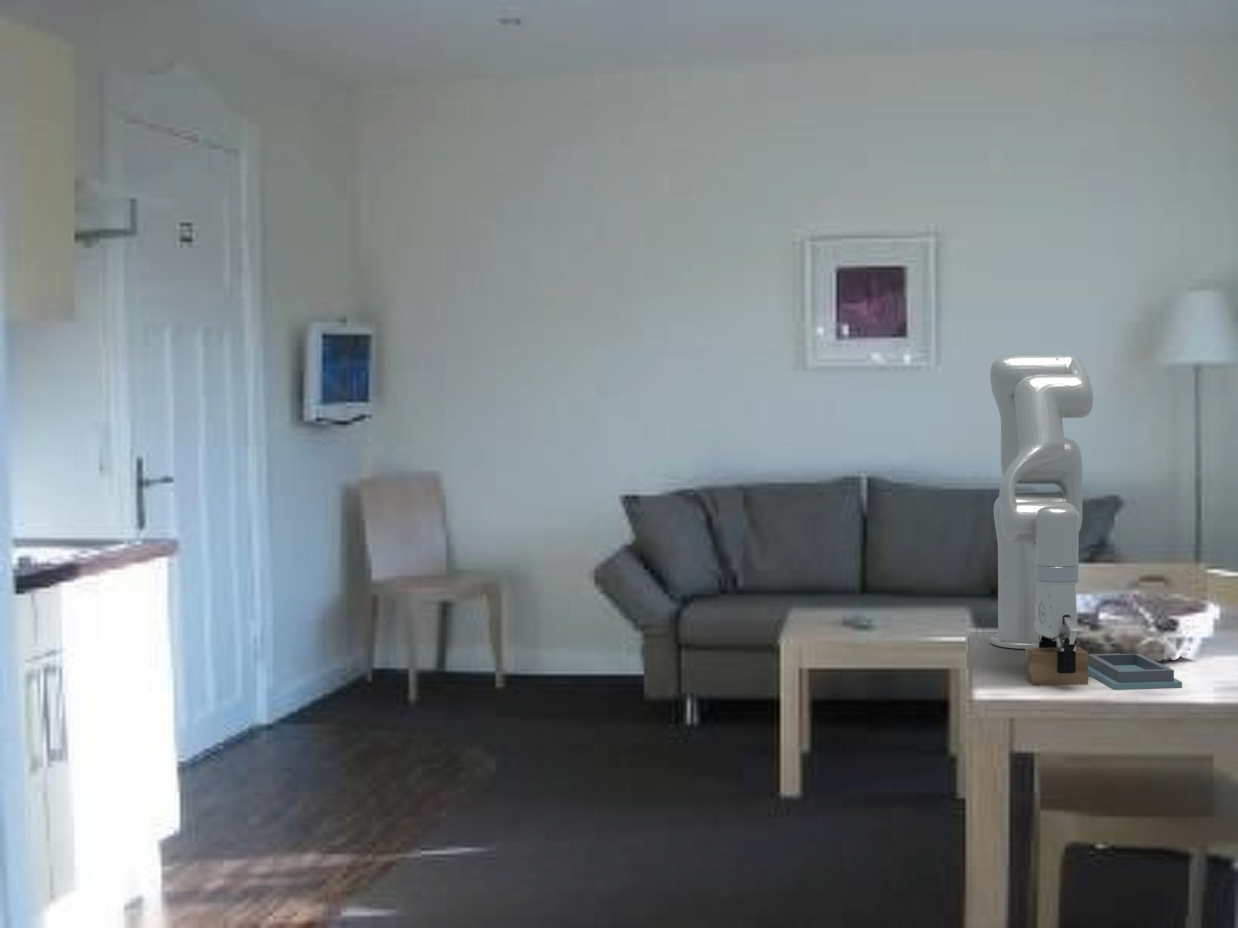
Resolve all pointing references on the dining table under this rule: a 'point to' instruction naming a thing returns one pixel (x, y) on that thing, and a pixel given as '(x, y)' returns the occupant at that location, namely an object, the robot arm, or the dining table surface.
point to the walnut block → (1053, 667)
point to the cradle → (1130, 672)
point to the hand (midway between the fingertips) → (1056, 667)
